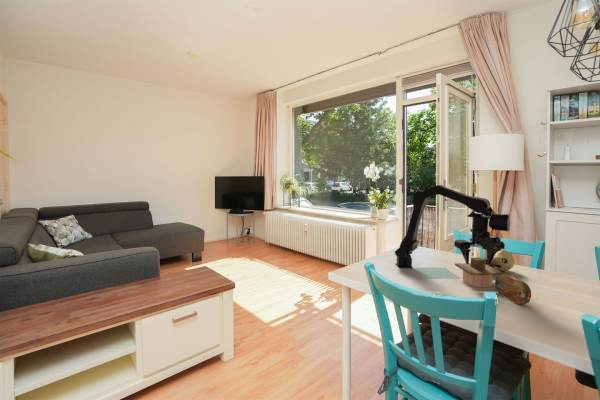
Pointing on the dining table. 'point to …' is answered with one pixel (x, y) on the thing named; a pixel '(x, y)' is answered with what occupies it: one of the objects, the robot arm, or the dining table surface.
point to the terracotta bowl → (477, 280)
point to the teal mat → (437, 273)
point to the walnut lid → (478, 267)
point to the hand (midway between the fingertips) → (477, 263)
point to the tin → (513, 289)
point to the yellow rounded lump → (503, 260)
